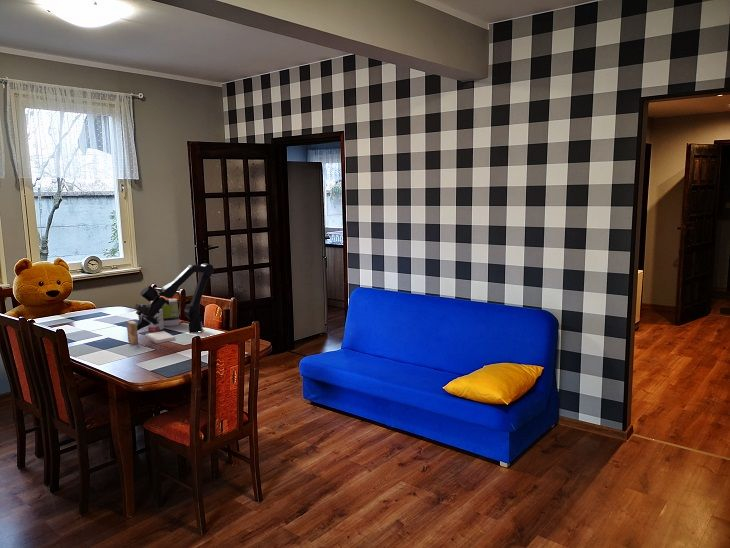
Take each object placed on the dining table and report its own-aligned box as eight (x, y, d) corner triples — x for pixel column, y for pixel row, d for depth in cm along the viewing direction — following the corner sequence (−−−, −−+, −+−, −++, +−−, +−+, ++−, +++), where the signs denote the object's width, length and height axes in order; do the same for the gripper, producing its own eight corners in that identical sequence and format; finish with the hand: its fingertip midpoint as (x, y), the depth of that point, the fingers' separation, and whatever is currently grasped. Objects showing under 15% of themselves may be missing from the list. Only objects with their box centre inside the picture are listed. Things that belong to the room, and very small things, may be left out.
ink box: (155, 332, 310) (154, 311, 308) (148, 332, 311) (146, 311, 309) (164, 328, 318) (162, 308, 316) (156, 328, 319) (155, 308, 317)
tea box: (179, 321, 334) (177, 297, 331) (179, 325, 324) (177, 301, 322) (152, 324, 329) (150, 299, 327) (151, 328, 320) (149, 303, 317)
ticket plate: (164, 333, 307) (163, 330, 307) (175, 339, 294) (174, 336, 294) (145, 336, 301) (145, 334, 300) (156, 343, 288) (155, 340, 287)
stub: (134, 340, 292) (132, 320, 290) (138, 343, 287) (136, 322, 285) (128, 341, 290) (126, 321, 288) (132, 344, 285) (130, 323, 283)
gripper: (138, 295, 296) (118, 318, 291) (149, 300, 282) (128, 324, 277) (154, 307, 303) (134, 330, 297) (166, 312, 288) (146, 337, 283)
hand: (135, 330), depth 289 cm, fingers closed
